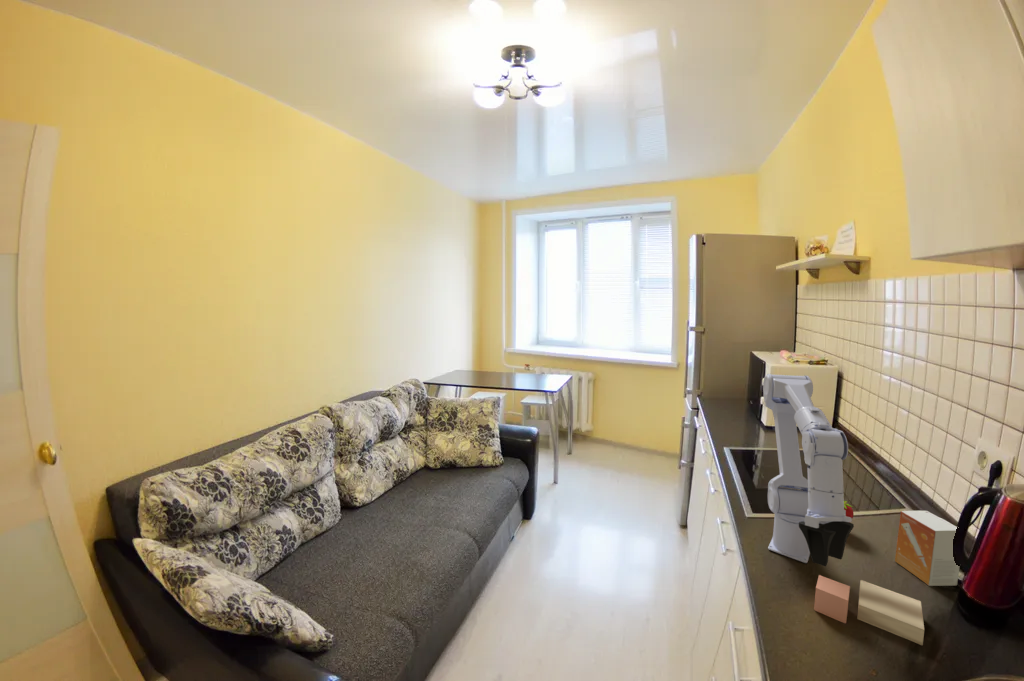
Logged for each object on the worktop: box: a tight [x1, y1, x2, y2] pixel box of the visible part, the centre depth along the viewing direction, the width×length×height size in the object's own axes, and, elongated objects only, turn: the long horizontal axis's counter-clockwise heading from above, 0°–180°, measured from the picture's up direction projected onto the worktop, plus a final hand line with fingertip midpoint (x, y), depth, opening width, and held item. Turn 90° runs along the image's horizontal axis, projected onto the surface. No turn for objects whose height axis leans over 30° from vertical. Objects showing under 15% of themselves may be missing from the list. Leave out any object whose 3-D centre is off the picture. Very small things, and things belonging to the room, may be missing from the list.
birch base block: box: [856, 579, 925, 646], centre depth 79 cm, size 9×9×4 cm
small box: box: [894, 510, 960, 587], centre depth 90 cm, size 8×6×13 cm
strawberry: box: [844, 500, 855, 523], centre depth 107 cm, size 6×8×10 cm
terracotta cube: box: [813, 574, 851, 624], centre depth 81 cm, size 5×5×5 cm
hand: (827, 560), depth 80 cm, fingers open, 7 cm apart
